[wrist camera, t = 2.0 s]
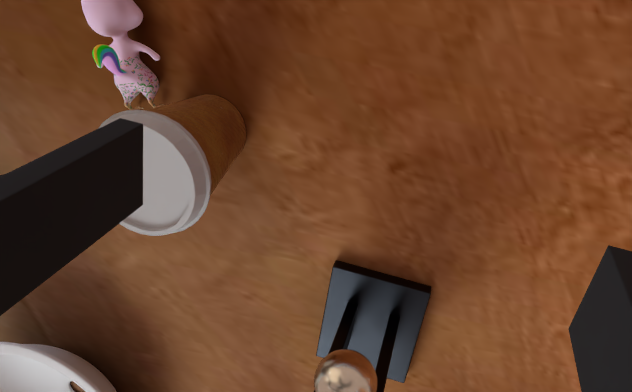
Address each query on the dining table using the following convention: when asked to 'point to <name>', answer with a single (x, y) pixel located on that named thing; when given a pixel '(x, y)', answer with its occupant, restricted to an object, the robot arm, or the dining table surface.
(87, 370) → the soup bowl
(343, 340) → the bracket
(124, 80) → the rabbit figure
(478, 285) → the dining table surface
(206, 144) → the disposable coffee cup
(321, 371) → the ball-tipped metal rod
